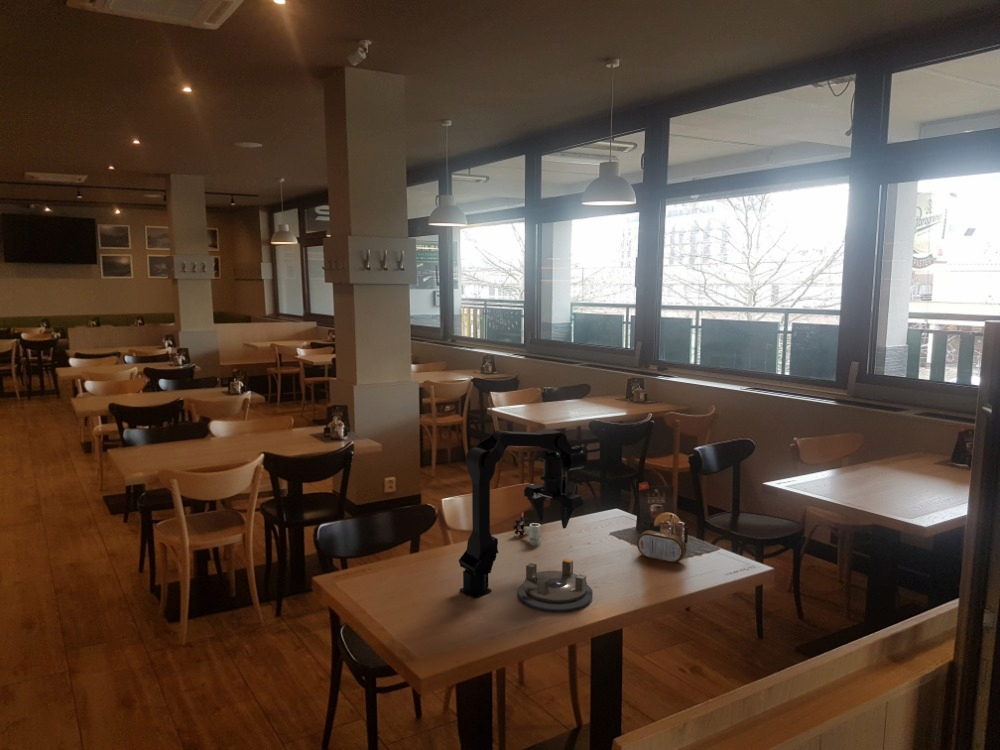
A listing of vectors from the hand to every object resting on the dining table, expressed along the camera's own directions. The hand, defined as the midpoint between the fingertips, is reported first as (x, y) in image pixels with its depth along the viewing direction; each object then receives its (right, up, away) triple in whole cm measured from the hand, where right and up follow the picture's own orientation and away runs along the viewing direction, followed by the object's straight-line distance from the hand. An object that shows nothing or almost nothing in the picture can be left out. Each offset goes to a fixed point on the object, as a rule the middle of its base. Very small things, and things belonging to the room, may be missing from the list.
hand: (552, 524), depth 205 cm
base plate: (0, -16, -16) cm, 23 cm away
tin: (+34, -13, +10) cm, 38 cm away
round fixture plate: (0, -14, -16) cm, 22 cm away
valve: (-6, -11, +27) cm, 30 cm away
